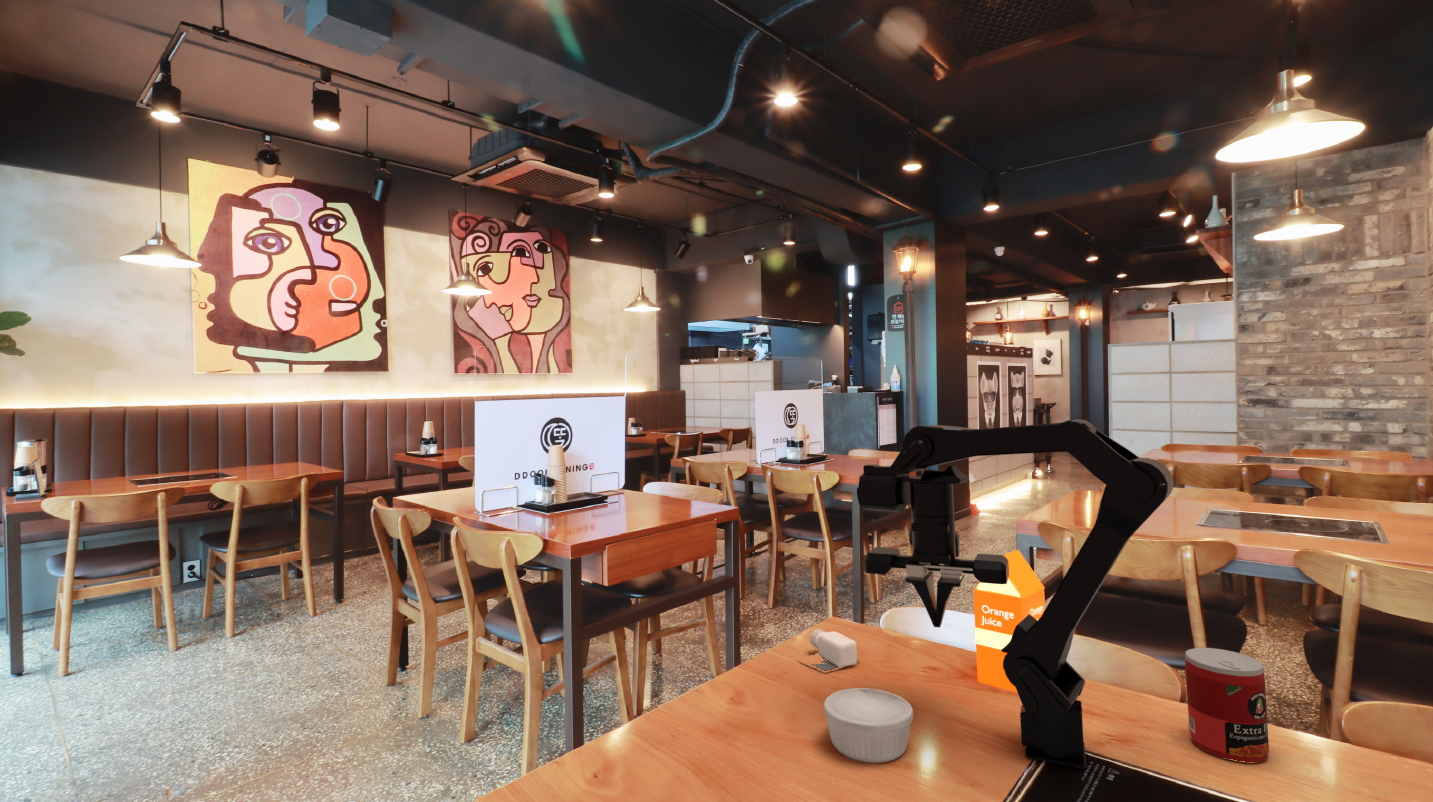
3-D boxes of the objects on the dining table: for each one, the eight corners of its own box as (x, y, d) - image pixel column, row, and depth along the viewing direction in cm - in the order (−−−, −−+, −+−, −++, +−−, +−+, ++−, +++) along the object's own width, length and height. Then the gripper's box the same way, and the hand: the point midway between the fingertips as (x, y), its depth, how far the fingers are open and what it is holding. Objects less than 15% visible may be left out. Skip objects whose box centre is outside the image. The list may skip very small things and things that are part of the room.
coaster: (858, 662, 111) (858, 659, 111) (825, 673, 107) (825, 670, 107) (829, 651, 117) (829, 648, 117) (797, 661, 112) (797, 658, 112)
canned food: (1239, 769, 75) (1233, 674, 75) (1173, 738, 82) (1168, 651, 83) (1286, 758, 77) (1280, 665, 77) (1218, 728, 84) (1213, 644, 85)
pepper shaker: (839, 669, 108) (807, 650, 116) (858, 664, 109) (825, 646, 118) (839, 645, 108) (807, 628, 116) (858, 641, 109) (825, 624, 118)
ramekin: (923, 736, 85) (921, 696, 85) (901, 778, 75) (899, 732, 76) (842, 719, 91) (841, 681, 91) (812, 755, 81) (811, 713, 81)
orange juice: (976, 681, 102) (970, 555, 102) (1001, 666, 108) (995, 546, 108) (1027, 695, 96) (1020, 561, 97) (1050, 678, 102) (1043, 552, 103)
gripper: (1009, 509, 93) (1014, 617, 92) (880, 504, 101) (884, 604, 101) (1003, 520, 83) (1009, 642, 82) (861, 514, 92) (865, 625, 91)
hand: (937, 626), depth 89 cm, fingers closed
